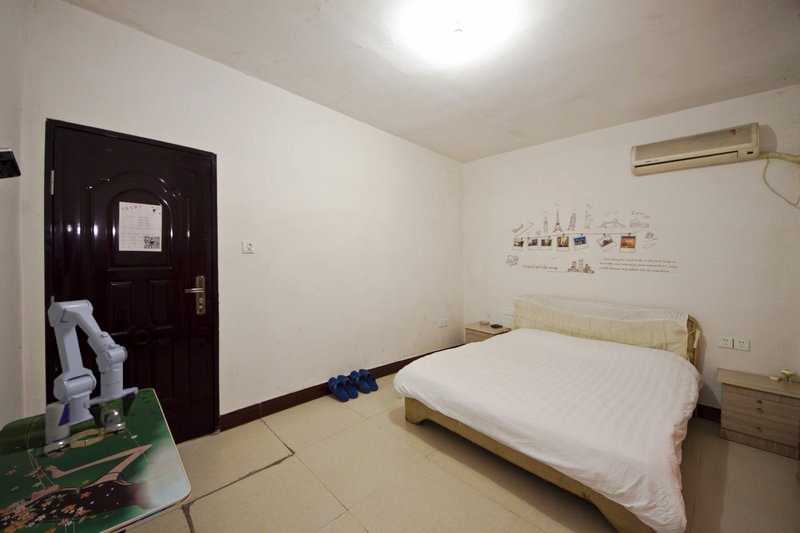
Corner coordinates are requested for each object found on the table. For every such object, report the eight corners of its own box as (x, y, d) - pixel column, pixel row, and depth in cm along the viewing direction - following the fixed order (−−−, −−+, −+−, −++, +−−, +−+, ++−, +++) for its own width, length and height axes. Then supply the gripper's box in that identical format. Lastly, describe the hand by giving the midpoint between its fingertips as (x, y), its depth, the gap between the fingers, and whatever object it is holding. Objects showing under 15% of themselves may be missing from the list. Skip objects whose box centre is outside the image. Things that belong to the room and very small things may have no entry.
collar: (62, 443, 100) (62, 438, 100) (99, 430, 108) (99, 425, 108) (73, 450, 96) (73, 445, 96) (110, 436, 104) (110, 432, 104)
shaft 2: (105, 437, 104) (105, 429, 104) (105, 433, 106) (105, 425, 106) (125, 431, 107) (125, 423, 107) (124, 427, 110) (124, 420, 110)
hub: (100, 427, 110) (100, 411, 110) (117, 421, 114) (117, 406, 114) (106, 430, 108) (106, 414, 108) (122, 424, 112) (122, 409, 112)
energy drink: (74, 436, 104) (74, 400, 104) (55, 445, 99) (55, 407, 99) (60, 435, 105) (60, 399, 105) (40, 444, 99) (40, 407, 99)
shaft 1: (66, 445, 99) (66, 436, 99) (70, 448, 97) (70, 439, 97) (43, 453, 94) (43, 444, 94) (47, 456, 93) (47, 447, 93)
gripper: (89, 391, 103) (89, 432, 103) (141, 377, 116) (142, 414, 116) (80, 387, 106) (80, 427, 106) (132, 374, 119) (132, 410, 119)
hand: (112, 420), depth 111 cm, fingers open, 7 cm apart
